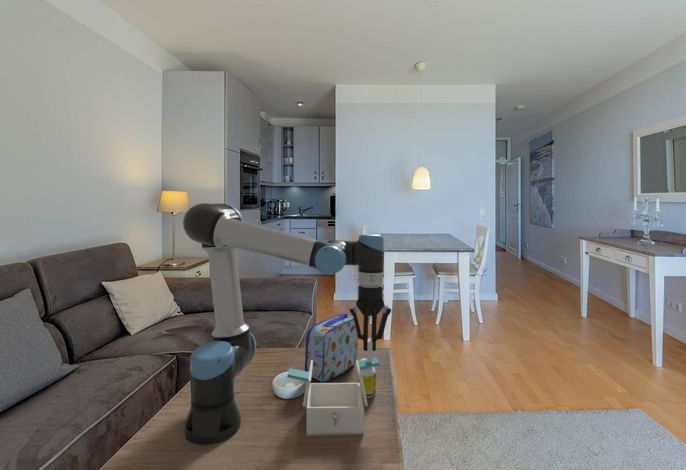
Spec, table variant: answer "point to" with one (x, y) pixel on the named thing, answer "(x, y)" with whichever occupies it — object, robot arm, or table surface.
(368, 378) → the pill bottle
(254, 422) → the table surface
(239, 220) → the robot arm
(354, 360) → the lunch box
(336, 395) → the carton
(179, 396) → the table surface
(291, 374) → the flap
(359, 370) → the far flap
